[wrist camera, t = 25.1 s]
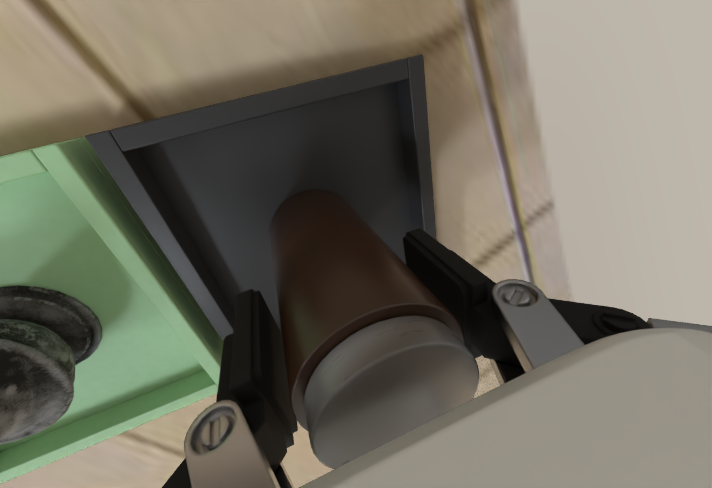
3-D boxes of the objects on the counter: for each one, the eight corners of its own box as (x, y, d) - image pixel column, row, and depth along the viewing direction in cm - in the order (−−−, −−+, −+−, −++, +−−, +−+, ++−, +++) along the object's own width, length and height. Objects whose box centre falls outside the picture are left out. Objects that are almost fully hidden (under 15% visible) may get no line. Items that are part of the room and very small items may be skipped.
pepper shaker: (346, 177, 15) (495, 299, 6) (363, 253, 18) (487, 422, 8) (254, 206, 14) (259, 402, 5) (287, 281, 17) (330, 505, 7)
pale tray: (85, 136, 11) (55, 142, 10) (236, 359, 19) (234, 386, 17) (-370, 247, 9) (-520, 282, 7) (5, 452, 16) (-24, 494, 15)
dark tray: (402, 59, 14) (423, 53, 12) (425, 282, 21) (441, 299, 20) (109, 130, 12) (83, 136, 10) (249, 354, 19) (248, 380, 17)
